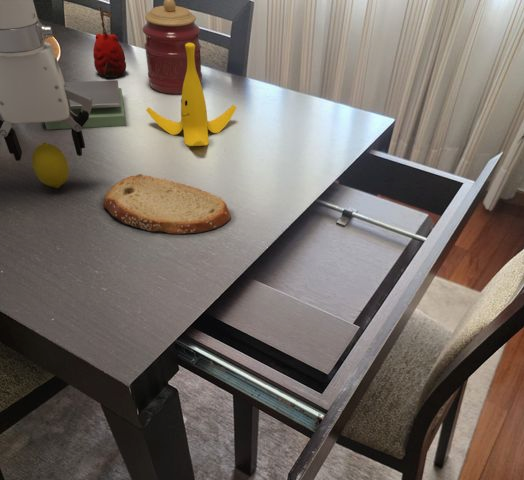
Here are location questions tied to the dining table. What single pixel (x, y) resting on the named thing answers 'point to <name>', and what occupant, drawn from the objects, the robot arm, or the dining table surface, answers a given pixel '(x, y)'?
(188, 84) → the banana peel
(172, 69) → the kitchen canister
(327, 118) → the dining table surface
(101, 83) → the scale pan
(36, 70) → the robot arm
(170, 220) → the bread slice
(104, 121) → the scale
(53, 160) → the lemon
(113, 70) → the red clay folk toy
